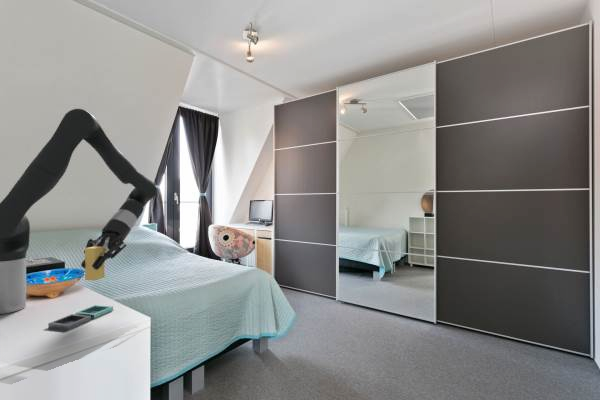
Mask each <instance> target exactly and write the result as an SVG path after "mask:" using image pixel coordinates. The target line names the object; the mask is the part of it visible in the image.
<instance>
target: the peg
mask: <svg viewBox="0 0 600 400" xmlns="http://www.w3.org/2000/svg"><path fill="white" fill-rule="evenodd" d="M84 250H85V253H84V259H85V269H84V281H94V282H95V281H99V280H102V279H104V278H105V262H104V263H103V264H102V266H101V267H100V268H99V269H98V270H96V269H94V268H93V267H92V265H93V263H94V262H95V261H96V260H97V258H98V257H99V256H100V254H101V252H102V251H103V247H100V246H94V247H88V248H86V247H84Z"/></svg>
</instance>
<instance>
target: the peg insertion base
mask: <svg viewBox="0 0 600 400" xmlns="http://www.w3.org/2000/svg"><path fill="white" fill-rule="evenodd" d="M113 311H114V306H110V305H108V306H107V305H99V304H95V305H92V306H89V307H86V308H84V309H82V310H79V311H75V313H72V314H69V315H66V316H63V317H61V318H59V319H55V320H53V321H51V322H48V323H47V324H48V325H47V327H46V328H44V329H43V331H47V332H54V333H61V334H63V333H66V332H68V331H70V330H73V329H74V328H77V327H79V326H82V325H83V324H86V323H89V322H91V321H92V320H95V319H97V318H100V317H102V316H104V315H106V314H109V313H110V312H113Z"/></svg>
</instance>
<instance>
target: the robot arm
mask: <svg viewBox="0 0 600 400" xmlns="http://www.w3.org/2000/svg"><path fill="white" fill-rule="evenodd" d="M83 140H84V141H85V142H86V143H87V144H88V145H90V147H92V148H93V149H94V151H96V152H97V154H98V155H99V156H100V158H101V159H102V160H103V162H104V163H105V165H106V166H107V168H108V169H109V170H110V171H111V172H112V173H113V174H114V175H115V177H116V178H117V180H119V182H121V183H122V184H124V185H128V184H129V185H131V186H133V187H134V188H133V189H132V190H131V192H130V193H129V195H128V196H127V198H126V200H125V201H124V202H123V203H122V205H121V206H120V207H119V208H118V210H117V211H116V212H114V214H113V215H112V216H111V217H110V219H109V220H108V221H107V223H106V224H105V225H104V226H103V228H102V229H101V235H100V236H98V237H97V239H94V240H93V239H92V238H89V240H87V244H86V246H85V248H88V247H94V246H100V247H103V251H102V252H101V254H100V256H99V257H98V258H97V260H96V261H95V262H94V263H93V265H92V267H93V268H94V269H96V270H98V269H99V268H100V267H101V266H102V264H103V263H104V264H105V262H106V261H107V260H108V259H115V257H116V256H117V255H118V254H119V253H121V252H122V251H123V250H124V249H125V248H126V247H127V244H126V243H125V240H126V238H127V237H128V235H129V234H130V232H131V231H132V229H133V228H134V226H135V225H136V222H137V221H138V220H139V219H140V217H141V215H142V213H143V212H144V208H145V206H146V205H147V203H149V202H150V201H151V200H153V199H154V198H155V197H156V196H157V195H158V188H157V186H156V184H155V183H154V182H153V181H152V180H151V179H150V178H149V177H147V176H145V174H143V173H141V172H139V171H138V170H137V168H136V167H135V166H134V165H133V163H132V162H131V161H130V160H129V159H128V158H127V157H126V156H125V155H124V154H123V153H122V152H121V151H120V149H118V147H117V146H116V145H115V144H114V143H113V142H112V140H111V139H110V138H109V136H108V135H107V134H106V132H105V131H104V129H103V128H102V126H101V124H100V123H99V121H98V119H97V118H96V116H94V115H93V114H91V113H90V112H89V111H88V110H86V109H83V108H73V109H70V110H69V111H67V112H66V113H65V114H64V116H63V117H62V119H61V120H60V123H59V125H58V126H57V128H56V130H55V131H54V133H53V134H52V136H51V138H50V139H49V140H48V141H47V142H46V144H45V145H44V146H43V147H42V149H41V150H40V151H39V152H38V154H37V155H36V156H35V157H34V158H33V160H31V163H30V164H29V165H28V167H27V168H26V169H25V170H24V172H23V173H22V175H21V176H20V177H19V178H18V180H17V181H16V183H14V185H13V187H12V188H11V189H10V191H9V192H8V194H7V195H6V196H5V198H3V199H2V201H0V315H3V314H5V315H6V314H8V313H13V312H17V311H21V310H22V309H25V308H26V306H27V251H28V250H29V246H30V235H31V234H30V232H31V224H30V221H29V218H28V217H27V216H26V214H27V212H28V211H29V210H30V209H31V208H32V207H33V206H34V205H35V203H37V202H38V201H40V200H41V199H43V197H45V196H46V195H47V194H48V193H50V192H51V191H52V190H54V188H55V187H56V185H57V184H58V183H59V182H60V181H61V179H62V178H63V176H64V175H65V173H66V172H67V169H68V167H69V164H70V161H71V158H72V155H73V153H74V151H75V150H76V148H77V147H78V146H79V144H80V143H82V141H83ZM83 254H85V249H84V250H83ZM80 267H82V268H83V269H84V270H85V258H84V259H83V260H82V262H81V265H80Z"/></svg>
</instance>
